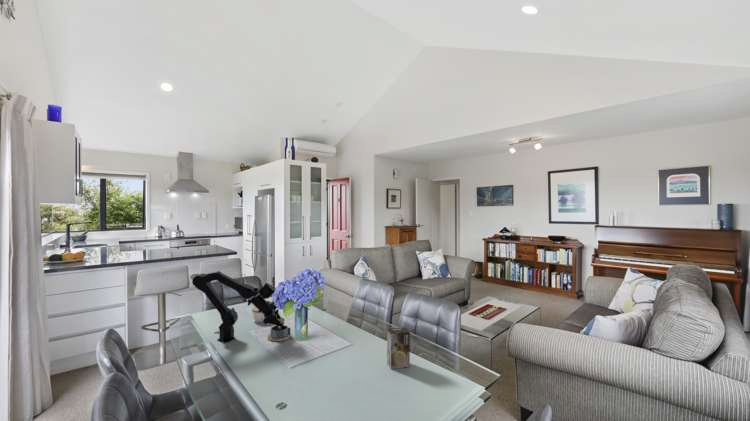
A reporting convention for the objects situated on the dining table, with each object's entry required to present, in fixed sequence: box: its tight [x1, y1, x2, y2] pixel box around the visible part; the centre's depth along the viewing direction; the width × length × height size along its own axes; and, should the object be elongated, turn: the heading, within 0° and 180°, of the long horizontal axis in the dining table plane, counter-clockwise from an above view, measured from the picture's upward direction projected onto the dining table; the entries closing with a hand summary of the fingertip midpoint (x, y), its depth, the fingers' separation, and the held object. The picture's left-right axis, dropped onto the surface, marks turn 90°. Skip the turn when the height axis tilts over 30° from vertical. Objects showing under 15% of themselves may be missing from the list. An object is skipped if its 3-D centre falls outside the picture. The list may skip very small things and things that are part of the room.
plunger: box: [278, 317, 285, 331], centre depth 176 cm, size 7×7×9 cm
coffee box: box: [386, 327, 411, 370], centre depth 147 cm, size 9×6×16 cm
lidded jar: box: [251, 306, 265, 323], centre depth 200 cm, size 11×11×9 cm
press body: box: [267, 324, 292, 343], centre depth 176 cm, size 12×12×5 cm
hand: (282, 324), depth 176 cm, fingers closed on plunger, 5 cm apart
